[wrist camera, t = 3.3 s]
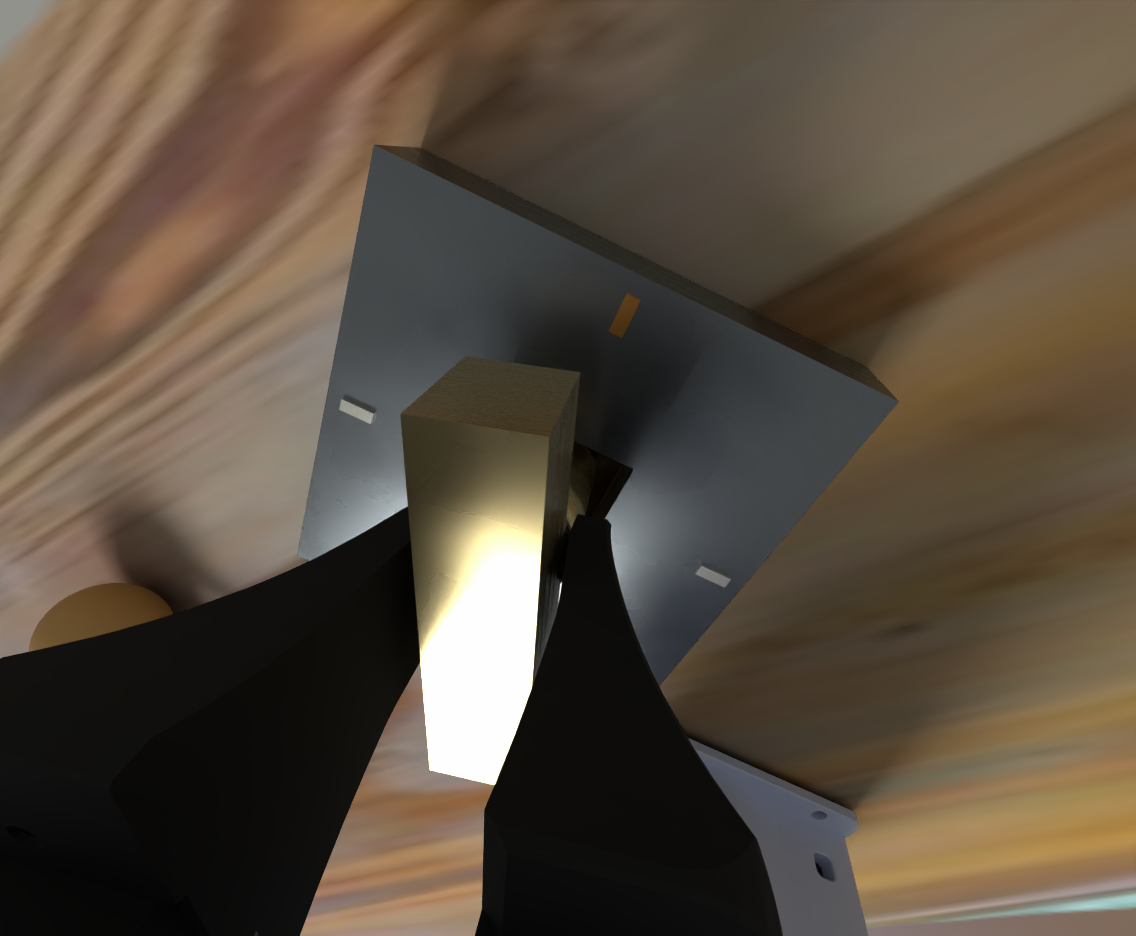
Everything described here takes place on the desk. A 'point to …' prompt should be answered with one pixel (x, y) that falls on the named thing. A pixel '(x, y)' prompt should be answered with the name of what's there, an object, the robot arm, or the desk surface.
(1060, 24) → the desk surface
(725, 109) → the desk surface
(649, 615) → the key plate
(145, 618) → the figurine
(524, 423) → the t key
